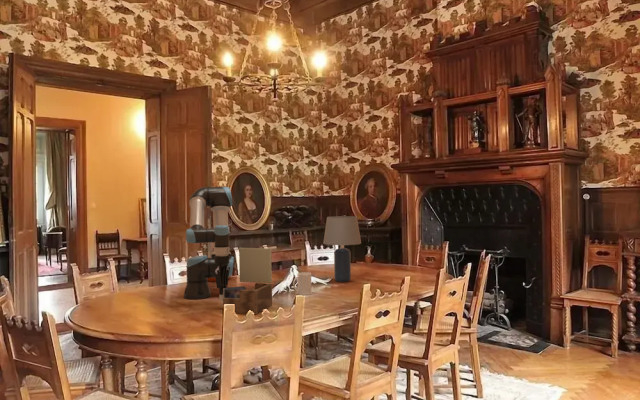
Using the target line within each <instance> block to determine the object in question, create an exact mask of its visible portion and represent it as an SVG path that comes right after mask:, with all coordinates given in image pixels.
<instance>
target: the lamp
mask: <svg viewBox="0 0 640 400" xmlns="http://www.w3.org/2000/svg"><path fill="white" fill-rule="evenodd" d="M358 221H359V219H358V216H349V215H348V216H347V215H346V216H345V215H341V216H337V215H336V216H327V217H326V223H325V230H324V237H323V245H327V246H340V247H339V248H336V249H335V250H334V253H333V254H334V255H333V259H334V263H333V265H334V267H333V269H334V280H335V281H336V282H337V283H348V282H350V281H351V275H352V274H351V273H352V271H351V270H352V269H351V268H352V266H351V265H352V263H351V254H352V253H351V251H350V249H349V248H346V247H345V246H356V245H361V244H362V240H361V233H360V228H359V222H358Z"/></svg>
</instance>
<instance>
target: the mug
mask: <svg viewBox="0 0 640 400" xmlns="http://www.w3.org/2000/svg"><path fill="white" fill-rule="evenodd" d="M296 280H297V287H296V286H295V281H296ZM292 283H293V287H294V289H295V290H297V291H296V292H297V295H298V296H309V295H312V294H313V293H312V273H311V272H298V273H297V275H296V276H295V278H294V280H293V282H292Z"/></svg>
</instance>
